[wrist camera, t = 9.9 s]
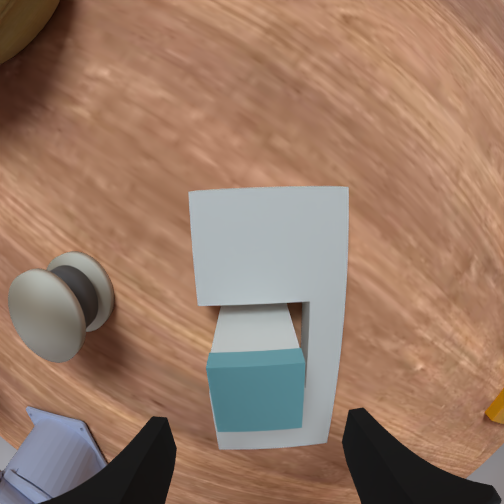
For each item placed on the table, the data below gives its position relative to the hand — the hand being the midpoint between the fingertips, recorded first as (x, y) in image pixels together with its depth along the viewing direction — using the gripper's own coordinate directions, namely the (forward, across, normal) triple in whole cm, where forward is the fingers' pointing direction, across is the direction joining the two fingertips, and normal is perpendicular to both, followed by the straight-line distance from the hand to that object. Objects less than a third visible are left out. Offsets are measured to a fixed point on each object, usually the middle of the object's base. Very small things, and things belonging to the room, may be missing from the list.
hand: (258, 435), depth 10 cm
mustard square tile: (+10, -32, +14) cm, 36 cm away
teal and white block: (+9, 0, 0) cm, 9 cm away
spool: (+9, +12, -3) cm, 15 cm away
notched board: (+9, -1, 0) cm, 9 cm away
